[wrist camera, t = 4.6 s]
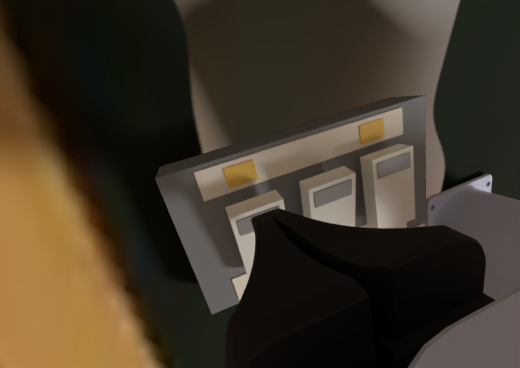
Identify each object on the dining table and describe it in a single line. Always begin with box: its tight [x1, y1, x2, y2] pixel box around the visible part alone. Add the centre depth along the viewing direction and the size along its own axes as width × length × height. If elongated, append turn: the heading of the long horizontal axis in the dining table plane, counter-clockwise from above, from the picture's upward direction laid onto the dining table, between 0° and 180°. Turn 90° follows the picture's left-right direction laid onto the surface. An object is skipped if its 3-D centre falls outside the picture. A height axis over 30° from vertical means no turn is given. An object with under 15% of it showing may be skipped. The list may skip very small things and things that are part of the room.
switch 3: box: [360, 144, 415, 228], centre depth 16 cm, size 5×3×1 cm, turn 14°
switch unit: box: [155, 95, 426, 314], centre depth 18 cm, size 10×18×3 cm, turn 104°
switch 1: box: [225, 190, 285, 279], centre depth 15 cm, size 5×3×1 cm, turn 14°
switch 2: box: [299, 166, 356, 227], centre depth 15 cm, size 5×3×1 cm, turn 14°
